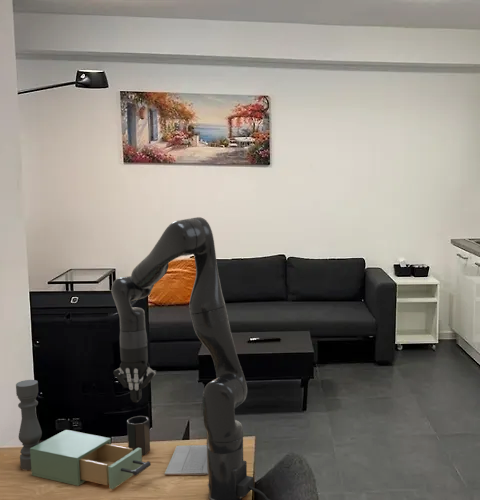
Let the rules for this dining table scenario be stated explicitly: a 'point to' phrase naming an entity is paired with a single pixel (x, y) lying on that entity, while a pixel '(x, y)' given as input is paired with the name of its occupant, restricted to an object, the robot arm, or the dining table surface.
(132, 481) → the dining table surface
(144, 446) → the tumbler
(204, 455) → the laptop
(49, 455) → the cabinet
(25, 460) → the candle holder
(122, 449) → the drawer
